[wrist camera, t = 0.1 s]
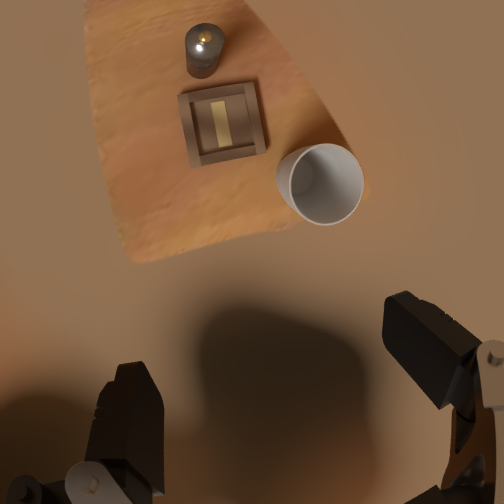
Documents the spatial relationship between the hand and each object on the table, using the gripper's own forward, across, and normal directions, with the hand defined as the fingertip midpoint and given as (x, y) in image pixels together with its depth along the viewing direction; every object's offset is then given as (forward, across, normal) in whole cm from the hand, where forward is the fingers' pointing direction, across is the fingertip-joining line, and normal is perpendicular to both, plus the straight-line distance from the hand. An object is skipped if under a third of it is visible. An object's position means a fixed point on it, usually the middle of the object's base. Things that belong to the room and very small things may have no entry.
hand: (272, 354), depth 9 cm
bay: (+29, -3, -9) cm, 31 cm away
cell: (+29, -2, -17) cm, 34 cm away
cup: (+29, -11, -1) cm, 31 cm away
